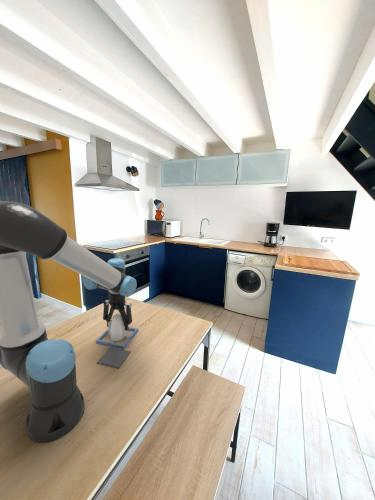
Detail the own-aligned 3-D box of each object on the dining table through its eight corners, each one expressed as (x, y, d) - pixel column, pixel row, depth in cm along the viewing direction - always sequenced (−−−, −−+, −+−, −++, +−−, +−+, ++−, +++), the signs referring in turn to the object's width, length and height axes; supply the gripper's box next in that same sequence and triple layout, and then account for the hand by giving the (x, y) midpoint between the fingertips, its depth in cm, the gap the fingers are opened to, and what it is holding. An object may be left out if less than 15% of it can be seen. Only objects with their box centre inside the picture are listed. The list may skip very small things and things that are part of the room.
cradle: (123, 349, 95) (123, 346, 95) (95, 343, 98) (95, 340, 98) (137, 331, 109) (137, 328, 109) (113, 326, 112) (113, 323, 112)
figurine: (127, 333, 107) (127, 312, 104) (121, 342, 99) (121, 320, 97) (114, 331, 107) (114, 310, 105) (107, 341, 100) (106, 318, 97)
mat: (118, 368, 84) (118, 367, 84) (96, 363, 86) (96, 362, 86) (130, 352, 94) (130, 350, 93) (110, 347, 96) (110, 346, 95)
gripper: (140, 291, 100) (139, 333, 105) (103, 285, 104) (104, 326, 109) (132, 297, 93) (132, 342, 97) (93, 291, 97) (95, 334, 101)
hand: (117, 334), depth 103 cm, fingers closed on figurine, 7 cm apart
